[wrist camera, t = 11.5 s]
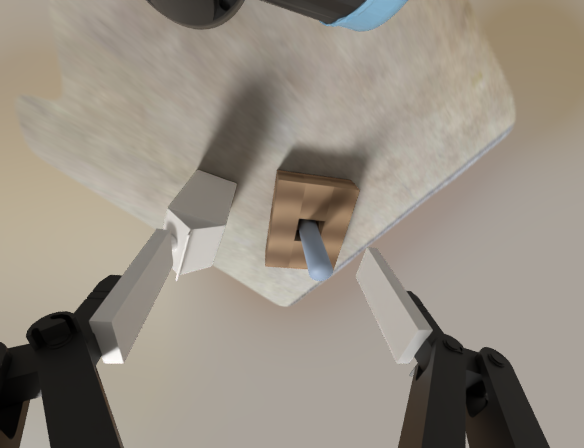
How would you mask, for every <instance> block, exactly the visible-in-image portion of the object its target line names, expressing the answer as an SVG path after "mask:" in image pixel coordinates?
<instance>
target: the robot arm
mask: <svg viewBox="0 0 584 448" xmlns="http://www.w3.org/2000/svg"><path fill="white" fill-rule="evenodd" d="M146 1H147V2H148V3H149V4H150V5H151V6H152V7H154V8H155V9H156V10H157V11H159V12H160V13H161V14H163V15H164V16H166V17H167V18H169V19H170V20H172V21H174V22H175V23H177V24H180V25H182V26H185V27H188V28H193V29H210V28H214V27H217V26H220V25H222V24H224V23H225V22H227V21H228V20H229V19H231V18H232V17H233V16H234V15H235V14H236V12H237V11H238V10H239V9H240V7H241V5H242V4H243V2H244V0H146ZM261 1H264V2H267V3H270V4H272V5H275V6H278V7H281V8H284V9H287V10H290V11H293V12H296V13H299V14H302V15H305V16H307V17H310V18H313V19H316V20H319V21H320V22H321V23H322V24H324V25H326V26H332V27H334V26H341V27H344V28H348V29H352V30H355V31H369V30H372V29H374V28H376V27H378V26H380V25H382V24H383V23H385V22H386V21H387V20H389V19H390V18H391V17H392V16H393V15H395V14H396V13H397V12H398V11H399V10H400V9H401V8H402V7H403V5H404V4H405V3H406V2H407V1H408V0H261ZM172 266H173V256H172V245H171V234H170V230H165V229H156V231H155V232H154V233H153V235H152V236H151V238H150V239H149V240H148V242H147V243H146V244H145V246H144V247H143V248H142V250H141V251H140V252H139V254H138V255H137V256H136V258H135V259H134V260H133V262H132V263H131V265H130V266H129V267H128V269H127V270H126V271H125V273H124V274H123V275H122V276H120V275H109V276H108V277H106V278H105V279H103V280H102V281H100V282H99V283H98V285H97V286H96V287H95V288H94V290H93V292H91V293H90V294H89V296H88V297H87V299H85V300H84V302H83V303H82V304H81V305H80V307H79V308H78V309H77V310H76V311H75V312H74V314H73V313H71V312H67V311H65V312H56V313H52V314H49V315H47V316H45V317H43V318H41V319H39V320H38V321H36V322H35V323H34V324H32V325H31V327H30V328H29V329H28V331H27V334H26V338H27V340H28V341H29V343H30V344H26V345H21V346H16V347H12V348H7V347H6V346H5V345H4V344H3V343H2V342H0V448H19V447H20V442H21V438H22V434H23V429H24V425H25V420H26V416H27V412H28V407H29V403H30V399H34V398H37V397H40V396H42V400H43V405H44V411H45V417H46V423H47V429H48V435H49V441H50V447H51V448H124V447H123V444H122V441H121V438H120V435H119V432H118V429H117V426H116V423H115V420H114V417H113V415H112V412H111V409H110V406H109V403H108V400H107V397H106V394H105V391H104V389H103V385H102V382H101V379H100V377H99V374H98V371H97V368H96V364H97V362H98V361H99V359H100V357H101V356H102V358H103V361H104V363H124V362H125V360H126V358H127V356H128V354H129V352H130V350H131V348H132V346H133V344H134V342H135V340H136V338H137V336H138V334H139V332H140V330H141V328H142V326H143V324H144V322H145V320H146V318H147V316H148V314H149V312H150V310H151V308H152V306H153V304H154V302H155V300H156V298H157V296H158V294H159V292H160V290H161V288H162V286H163V284H164V282H165V280H166V278H167V276H168V274H169V272H170V270H171V268H172ZM356 278H357V280H358V282H359V285H360V287H361V289H362V291H363V293H364V295H365V297H366V300H367V301H368V304H369V306H370V308H371V310H372V312H373V314H374V316H375V319H376V321H377V323H378V325H379V327H380V329H381V331H382V334H383V336H384V338H385V340H386V342H387V344H388V346H389V349H390V351H391V353H392V355H393V357H394V359H395V361H396V363H410V362H411V360H412V359H413V358H414V357H415V358H416V360H417V362H418V364H417V365H416V366H415V368H414V369H413V370H412V372H411V373H410V376H412V375H413V374H414V375H413V381H412V385H411V389H410V394H409V400H408V403H407V408H406V413H405V418H404V422H403V427H402V431H401V436H400V441H399V445H398V448H465V437H466V435H465V434H467V439H468V443H469V448H550V447H549V445H548V443H547V440H546V438H545V436H544V434H543V432H542V430H541V428H540V426H539V423H538V421H537V419H536V417H535V415H534V412H533V410H532V408H531V406H530V404H529V402H528V400H527V398H526V395H525V393H524V391H523V389H522V387H521V385H520V383H519V380H518V378H517V376H516V374H515V372H514V369H513V367H512V365H511V364H510V362H509V361H508V360H507V359H506V358H505V357H504V356H503V355H502V354H500V353H499V352H497V351H496V350H494V349H492V348H488V347H484V348H482V349H481V350H480V352H475V351H472V350H469V349H466V348H463V346H462V345H461V344H460V343H459V342H458V341H457V340H456V339H454V338H453V337H451V336H449V335H446V334H444V333H443V332H442V330H441V329H440V328H439V326H438V325H437V323H436V322H435V321H434V319H433V318H432V316H431V315H430V314H429V312H428V311H427V309H426V308H425V307H424V306H423V304H422V302H421V301H420V299H419V298H418V297H417V296H416V295H414V294H413V293H412V292H411V291H406V290H405V289H404V287H403V286H402V284H401V283H400V281H399V280H398V278H397V277H396V275H395V274H394V272H393V271H392V269H391V268H390V266H389V265H388V263H387V262H386V261H385V259H384V258H383V256H382V255H381V253H380V252H379V250H378V249H377V248H370V247H367V249H366V252H365V254H364V257H363V260H362V262H361V264H360V267H359V269H358V272H357V274H356Z"/></svg>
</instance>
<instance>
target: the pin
mask: <svg viewBox="0 0 584 448" xmlns="http://www.w3.org/2000/svg"><path fill="white" fill-rule="evenodd" d="M298 229H299V233H300V237H301V242H302V246H303V250H304V254H305V259H306V263H307V267H308V271H309V275H310V277H311V278H312V279H313V280H316V281H323V280H326V279H328V278H329V277H330V276H331V275H332V273H333V267H332V265H331V262H330V259H329V257H328V254H327V251H326V249H325V246H324V243H323V240H322V238H321V235H320V232H319V230H318V227H317V224H316V221H315V220H309V219H300V218H299V220H298Z"/></svg>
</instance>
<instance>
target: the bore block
mask: <svg viewBox="0 0 584 448" xmlns="http://www.w3.org/2000/svg"><path fill="white" fill-rule="evenodd" d="M359 192H360V190H359V189H358V188H357V186H356V185H355V184H354V183H353V182H352V181H351V180H347V179H339V178H332V177H325V176H318V175H310V174H303V173H296V172H289V171H281V170H277V174H276V181H275V188H274V195H273V202H272V208H271V215H270V222H269V229H268V236H267V243H266V250H265V266H267V267H281V268H296V269H308V267H307V263H306V259H305V254H304V250H303V246H302V242H301V237H300V233H299V229H298V220H299V218H300V219H309V220H315V221H316V224H317V227H318V230H319V232H320V235H321V238H322V240H323V243H324V246H325V249H326V251H327V254H328V257H329V259H330V262H331V265H332V267H333V270H334V267H335V264H336V261H337V258H338V255H339V252H340V249H341V246H342V243H343V240H344V237H345V234H346V231H347V228H348V225H349V222H350V219H351V216H352V213H353V210H354V207H355V204H356V201H357V198H358V195H359Z"/></svg>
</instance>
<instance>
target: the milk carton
mask: <svg viewBox="0 0 584 448" xmlns="http://www.w3.org/2000/svg"><path fill="white" fill-rule="evenodd" d="M236 186H237V183H234V182H231V181H228V180H226V179H223V178H220V177H217V176H214V175H212V174H209V173H206V172H203V171H200V170H196V172H195V173H194V174H193V175H192V177H191V178H190V179H189V181H188V182H187V183H186V184H185V186H184V187H183V188H182V190H181V191H180V192H179V193H178V195H177V196H176V197H175V199H174V200H173V201H172V202H171V204H170V205H169V206H168V208H167V211H166V216H165V220H164V225H163V229H165V230H170V234H171V245H172V256H173V266H172V269H173V270H174V271H175V272H176V273H177V276H176V280H175V281H177V280H178V278H179V275H182V274H186V273H189V272H193V271H196V270H200V269H204V268H207V267H211V266H212V264H213V262H214V259H215V256H216V253H217V250H218V247H219V244H220V242H221V239H222V236H223V233H224V230H225V227H226V223H227V220H228V216H229V212H230V208H231V205H232V201H233V197H234V194H235V190H236Z"/></svg>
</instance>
